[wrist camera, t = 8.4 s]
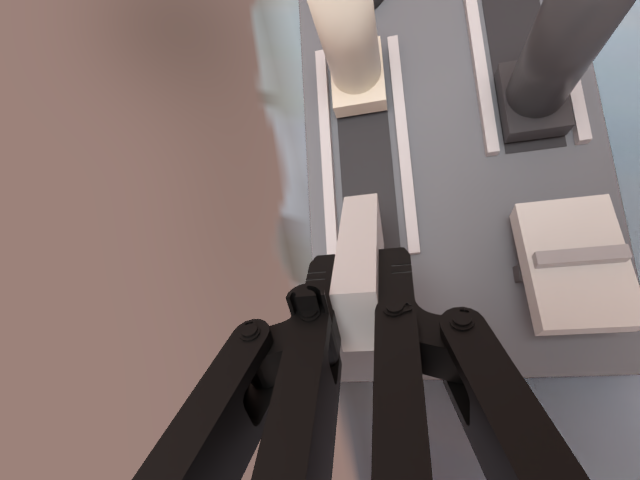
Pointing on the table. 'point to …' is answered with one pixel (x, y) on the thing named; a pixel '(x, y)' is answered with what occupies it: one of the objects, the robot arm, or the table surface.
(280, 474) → the robot arm
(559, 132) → the black lever
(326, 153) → the panel
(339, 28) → the cream tapered knob
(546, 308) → the rocker
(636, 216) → the table surface
